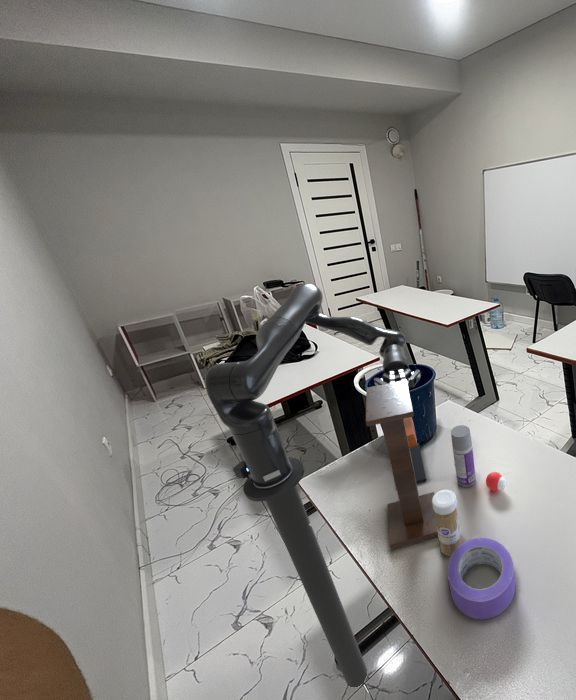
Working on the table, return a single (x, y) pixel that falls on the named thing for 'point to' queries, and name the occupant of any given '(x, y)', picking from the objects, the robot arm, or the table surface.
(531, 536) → the table surface
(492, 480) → the molecule
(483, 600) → the tape roll
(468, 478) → the container
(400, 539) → the wooden pedestal stand
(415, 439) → the copper block with handle
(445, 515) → the sprinkles bottle
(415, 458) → the drying mat
